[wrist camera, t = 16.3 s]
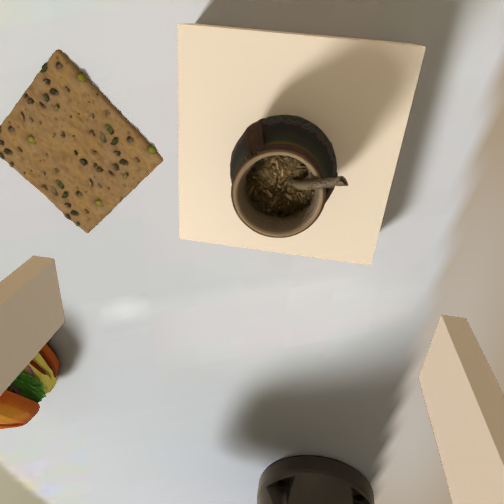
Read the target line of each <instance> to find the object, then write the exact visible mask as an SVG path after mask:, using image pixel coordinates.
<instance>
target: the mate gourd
mask: <svg viewBox="0 0 504 504" xmlns="http://www.w3.org/2000/svg"><path fill="white" fill-rule="evenodd" d="M230 178H231V183H232V186H231V198H232V203H233V207H234V210H235V212H236V214H237V215H238V217H239V219H240V220H241V221H242V222H243V223H244V224H245V225H246V226H247V227H248V228H250V229H251V230H253V231H254V232H256V233H258V234H260V235H263V236H267V237H272V238H286V237H291V236H294V235H297V234H299V233H301V232H303V231H305V230H306V229H308V228H309V227H310V226H311V225H312V224H313V223H314V222H315V221H316V220H317V219H318V217H319V216H320V214H321V212H322V210H323V208H324V205H325V203H326V202H327V200H328V199H329V197H330V195H331V194H332V192H333V190H334V188H335V186H348V182H347V180H346V178H345V177H343V176H338V173H337V161H336V156H335V152H334V149H333V146H332V143H331V142H330V141H329V139H328V137H327V136H326V135H325V133H324V132H323V131H322V130H321V129H320V128H319V127H318V126H316V125H315V124H313V123H312V122H310V121H308V120H306V119H304V118H302V117H299V116H294V115H274V116H270V117H267V118H262V119H260V120H258V121H257V122H254V123H252V124H251V125H250V126H248V127H247V128H246V130H245V132H244V133H243V134H242V136H241V137H240V138H239V140H238V141H237V143H236V145H235V147H234V149H233V151H232V155H231V161H230Z"/></svg>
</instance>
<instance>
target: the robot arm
mask: <svg viewBox="0 0 504 504" xmlns="http://www.w3.org/2000/svg"><path fill="white" fill-rule="evenodd" d="M64 322H65V318H64V312H63V306H62V301H61V295H60V289H59V283H58V278H57V272H56V266H55V260H54V259H53V258H46V257H39V256H33V257H31V258H30V259H29V260H28V261H26V262H25V263H24V264H23V265H21V266H20V267H19V268H17V269H16V270H15V271H14V272H12V273H11V274H10V275H9V276H7V277H6V278H5V279H4V280H2V281H1V282H0V396H1V395H2V394H3V392H4V391H5V390H6V389H7V388H8V387H9V386H10V384H11V383H12V382H13V381H14V380H15V379H16V377H17V376H18V375H19V374H20V373H21V372H22V371H23V369H24V368H25V367H26V366H27V365H28V364H29V363H30V361H31V360H32V359H33V358H34V357H35V356H36V354H37V353H38V352H39V351H40V350H41V349H42V348H43V346H44V345H45V344H46V343H47V342H48V341H49V340H50V338H51V337H52V336H53V335H54V334H55V333H56V331H57V330H58V329H59V328H60V327H61V326H62V325H63V323H64ZM419 382H420V385H421V389H422V393H423V396H424V400H425V404H426V407H427V411H428V414H429V418H430V422H431V425H432V429H433V433H434V436H435V440H436V444H437V447H438V451H439V454H440V458H441V462H442V465H443V469H444V472H445V476H446V480H447V484H448V487H449V491H450V495H451V498H452V502H453V504H504V395H503V392H502V391H501V388H500V387H499V384H498V382H497V380H496V378H495V376H494V374H493V372H492V370H491V368H490V366H489V364H488V362H487V360H486V358H485V356H484V354H483V352H482V350H481V348H480V346H479V344H478V342H477V340H476V338H475V336H474V334H473V332H472V330H471V328H470V325H469V323H468V321H467V319H466V318H459V317H453V316H446V315H441V317H440V320H439V323H438V325H437V328H436V331H435V334H434V336H433V339H432V342H431V345H430V347H429V350H428V353H427V356H426V358H425V361H424V364H423V367H422V369H421V372H420V375H419ZM257 504H374V496H373V490H372V488H371V486H370V484H369V482H368V481H367V480H366V478H365V477H364V476H363V475H362V474H360V473H359V472H358V471H356V470H355V469H353V468H352V467H350V466H348V465H346V464H344V463H341V462H339V461H336V460H332V459H328V458H323V457H316V456H298V457H291V458H287V459H283V460H281V461H278V462H276V463H274V464H272V465H271V466H269V467H268V468H267V469H266V470H265V471H264V472H263V474H262V475H261V477H260V481H259V487H258V494H257Z"/></svg>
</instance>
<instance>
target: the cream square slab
mask: <svg viewBox="0 0 504 504" xmlns="http://www.w3.org/2000/svg"><path fill="white" fill-rule="evenodd" d="M177 38H178V154H179V239H186V240H193V241H200V242H207V243H214V244H221V245H229V246H236V247H243V248H250V249H257V250H264V251H271V252H279V253H286V254H293V255H300V256H307V257H314V258H321V259H329V260H336V261H343V262H350V263H357V264H364V265H371V263H372V259H373V255H374V251H375V247H376V243H377V239H378V235H379V232H380V228H381V224H382V220H383V216H384V212H385V208H386V204H387V200H388V196H389V192H390V188H391V184H392V180H393V176H394V172H395V168H396V164H397V160H398V156H399V152H400V148H401V144H402V141H403V137H404V133H405V129H406V125H407V121H408V117H409V113H410V109H411V105H412V101H413V97H414V93H415V89H416V85H417V81H418V77H419V73H420V69H421V65H422V61H423V57H424V53H425V50H426V47H425V46H421V45H417V44H414V43H404V42H393V41H382V40H371V39H360V38H349V37H338V36H327V35H316V34H306V33H295V32H284V31H273V30H262V29H251V28H240V27H229V26H218V25H208V24H197V23H189V24H177ZM274 115H294V116H299V117H302V118H304V119H306V120H308V121H310V122H312V123H313V124H315V125H316V126H318V127H319V128H320V129H321V130H322V131H323V132H324V133H325V135H326V136H327V137H328V139H329V141H330V142H331V143H332V146H333V149H334V152H335V156H336V161H337V173H338V176H343V177H345V178H346V180H347V182H348V186H335V188H334V190H333V192H332V194H331V195H330V197H329V199H328V200H327V202H326V203H325V205H324V208H323V210H322V212H321V214H320V216H319V217H318V219H317V220H316V221H315V222H314V223H313V224H312V225H311V226H310V227H309V228H308V229H306V230H305V231H303V232H301V233H299V234H297V235H294V236H291V237H286V238H272V237H267V236H263V235H260V234H258V233H256V232H254V231H253V230H251V229H250V228H248V227H247V226H246V225H245V224H244V223H243V222H242V221H241V220H240V219H239V217H238V215H237V214H236V212H235V210H234V207H233V203H232V198H231V186H232V183H231V178H230V161H231V155H232V151H233V149H234V147H235V145H236V143H237V141H238V140H239V138H240V137H241V136H242V134H243V133H244V132H245V130H246V128H247V127H248V126H250V125H251V124H252V123H254V122H257V121H258V120H260V119H262V118H267V117H270V116H274Z"/></svg>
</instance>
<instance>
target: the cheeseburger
mask: <svg viewBox="0 0 504 504" xmlns="http://www.w3.org/2000/svg"><path fill="white" fill-rule="evenodd" d="M59 364H60V363H59V361H58V359H57V357H56V355H55V354H54V353H53V352H52V350H51V349H50V348H49V347H48V346H47V344H45V345H44V346H43V348H42V349H41V350H40V351H39V352H38V353H37V354H36V356H35V357H34V358H33V359H32V360H31V361H30V363H29V364H28V365H27V366H26V367H25V368H24V369H23V371H22V372H21V373H20V374H19V375H18V376H17V377H16V379H15V380H14V381H13V382H12V383H11V384H10V386H9V387H8V388H7V389H6V390H5V391H4V392H3V394H2V395H1V396H0V429H5V428H12V427H19V426H23V425H25V424H27V423H28V422H29V421H30V420H31V419H32V418H33V417H34V416H35V415H36V414H37V412H38V411H39V408H40V406H39V404H38V402H39V401H42V398H44V397H45V396H46V395H45V394H46V393H48V392H50V391H51V390H52V389H53V388H54V386H55V384H56V381H57V378H56V376H57V373H58V368H59Z"/></svg>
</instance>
